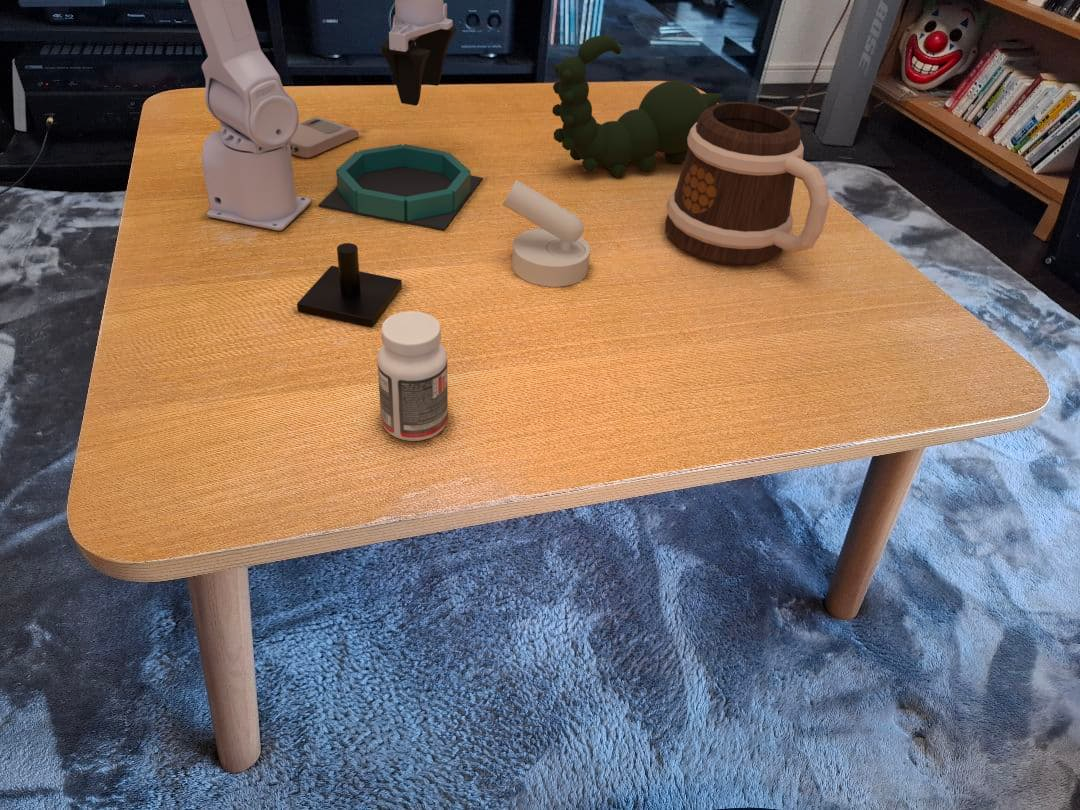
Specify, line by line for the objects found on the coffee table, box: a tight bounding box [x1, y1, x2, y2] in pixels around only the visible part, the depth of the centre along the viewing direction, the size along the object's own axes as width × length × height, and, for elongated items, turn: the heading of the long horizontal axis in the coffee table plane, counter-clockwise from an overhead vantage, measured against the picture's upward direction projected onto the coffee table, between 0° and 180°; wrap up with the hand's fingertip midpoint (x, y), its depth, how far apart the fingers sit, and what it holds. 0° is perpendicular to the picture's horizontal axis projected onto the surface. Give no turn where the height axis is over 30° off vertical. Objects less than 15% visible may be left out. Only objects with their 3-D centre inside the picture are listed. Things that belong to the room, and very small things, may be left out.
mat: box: [318, 166, 483, 231], centre depth 108 cm, size 16×15×1 cm
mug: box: [664, 101, 830, 267], centre depth 99 cm, size 20×15×15 cm
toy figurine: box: [552, 34, 724, 178], centre depth 114 cm, size 9×19×25 cm
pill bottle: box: [376, 310, 449, 442], centre depth 72 cm, size 6×6×10 cm
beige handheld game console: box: [290, 116, 360, 159], centre depth 117 cm, size 7×16×3 cm, turn 148°
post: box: [296, 242, 403, 328], centre depth 87 cm, size 8×8×6 cm
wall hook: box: [502, 179, 591, 288], centre depth 94 cm, size 9×10×10 cm
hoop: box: [335, 143, 472, 221], centre depth 107 cm, size 15×15×3 cm
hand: (420, 93), depth 109 cm, fingers open, 7 cm apart
